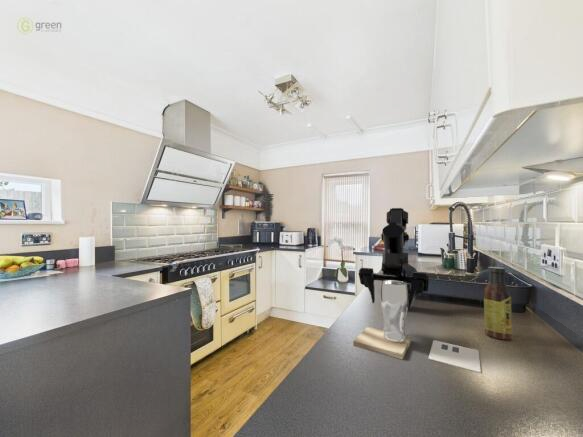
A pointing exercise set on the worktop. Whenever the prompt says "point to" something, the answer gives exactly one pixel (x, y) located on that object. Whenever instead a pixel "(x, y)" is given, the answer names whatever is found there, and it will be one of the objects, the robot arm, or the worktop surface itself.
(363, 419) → the worktop surface
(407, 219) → the robot arm
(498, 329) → the sauce bottle
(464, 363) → the card
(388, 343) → the birch board
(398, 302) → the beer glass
